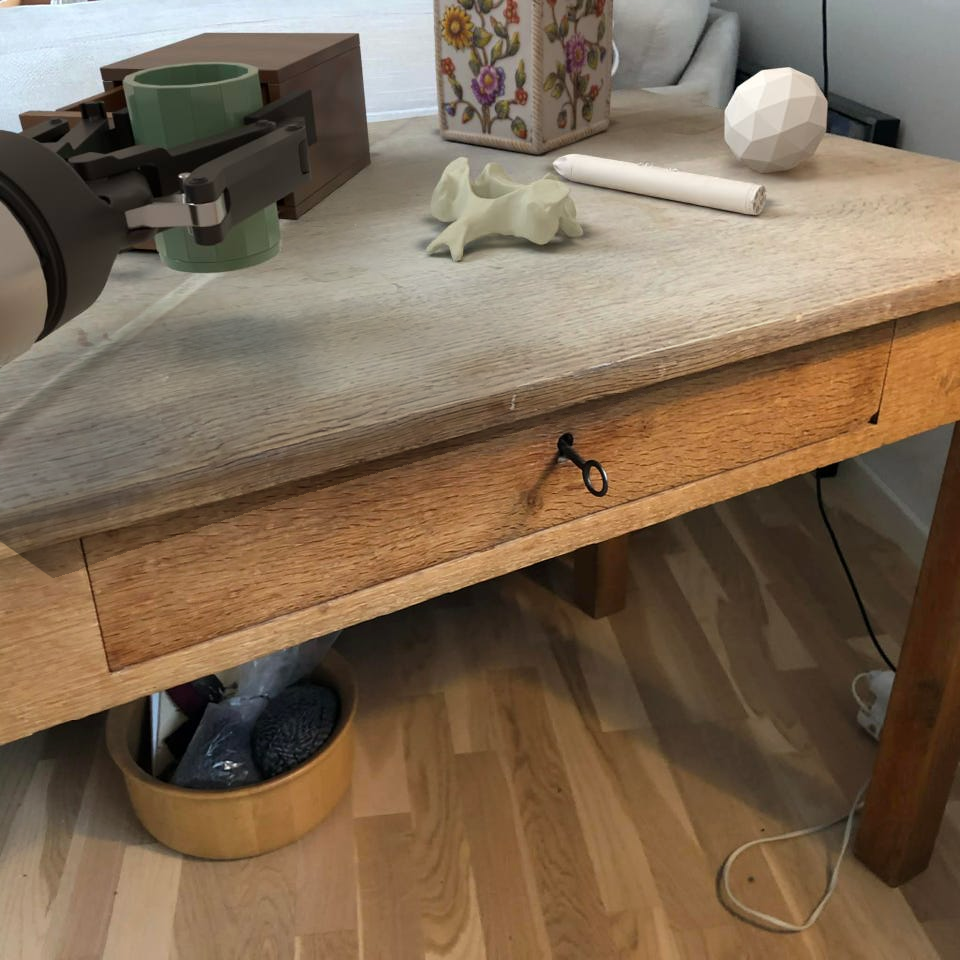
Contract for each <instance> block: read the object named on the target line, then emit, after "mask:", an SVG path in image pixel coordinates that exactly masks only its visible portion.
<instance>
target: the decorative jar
mask: <svg viewBox="0 0 960 960" xmlns="http://www.w3.org/2000/svg"><path fill="white" fill-rule="evenodd" d="M432 2H433V3H432V4H433V7H432V8H433V34H434V36H433V37H434V62H435V81H436V99H437V110H438V113H437V114H438V124H439V125H438V126H439V136H440V138H441V139H442V140H443V139H444V140H448V141H454V142H459V143H466V144H472V145H476V146H477V145H478V146H483V147H489V148H496V149H501V150H507V151H512V152H518V153H524V154H528V155H529V154H530V155H538V156H539V155H542V154H545V153H547V152H549V151H554V150H555V149H558V148H561V147H564V146H566V145H570V144H572V143H575V142H578V141H580V140H582V139H585V138H587V137H590V136H593V135H595V134H599V133H601V132H603V131H605V130H607V129H608V127H609V125H610V117H611V103H612V102H611V98H612V76H613V75H612V74H613V73H612V71H613V70H612V69H613V68H612V67H613V64H612V63H613V62H612V61H613V34H614V33H613V30H614V29H613V28H614V27H613V24H614V21H613V20H614V0H433V1H432Z"/></svg>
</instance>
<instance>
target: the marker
mask: <svg viewBox="0 0 960 960" xmlns="http://www.w3.org/2000/svg"><path fill="white" fill-rule="evenodd" d="M552 166H553V168H554V169H555V171H556V172H557V173H558V174H559V175H560V176H561V177H563V178H565V179H567V180H569V181H572V182H576V183H579V184H585V185H591V186H595V187H596V186H597V187H601V188H608V189H613V190H616V191H617V190H618V191H623V192H629V193H634V194H639V195H644V196H650V197H655V198H659V199H660V198H661V199H666V200H671V201H676V202H682V203H688V204H691V205H697V206H702V207H703V206H704V207H707V208H714V209H719V210H724V211H730V212H734V213H740V214H745V215H751V216H758V215H760V214H761V213H762V211H763V209H764V207H765V205H766V201H767V194H766V193H767V189H766V187H765V186H764V185H761V184H758V183H754V182H753V183H752V182H747V181H741V180H735V179H730V178H729V179H728V178H723V177H717V176H712V175H705V174H698V173H692V172H688V171H682V170H679V168H676V167H674V168H672V166H668V168H666V167H661V166H655V165H654V163H651V164H650V163H648V162H646V163H645V164H644V162H643V161H641V162H639V163H635V162H630V161H622V160H616V159H610V158H605V157H600V156H594V155H593V156H592V155H587V154H580V153H571V154H570V153H569V154H565V155H563V156H560V157H558V158H556V159H555V160H554V161H553V162H552Z"/></svg>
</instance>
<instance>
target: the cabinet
mask: <svg viewBox="0 0 960 960" xmlns="http://www.w3.org/2000/svg"><path fill="white" fill-rule="evenodd" d="M197 62H232V63H244V64H248V65H251V66H255V67H257V68H258V72H259V79H260V83H269V84H268V88H269V96H270V103H272V102H274V101H276V100H278V99H280V98H282V97H284V96H286V95H288V94H290V93H291V92H293V91H295V90H297V89H311V92H312V101H313V110H314V119H315V128H316V136H317V142H316V143H314V144H313V145H311V146H310V147H308V153H309V161H310V170H311V179H312V180H311V181H310V182H309V183H307V184H305V185H304V186H302V187H300V188H298V189H297V190H295V191H293V192H292V193H290V194H288V195H286V196H285V197H283V198H281V199H280V200H278V201H276V202H277V210H278V217H279V219H291V220H293V219H294V220H297V219H299V218H300V217H302V216H303V215H304V214H306V213H307V212H308V211H309V210H311V209H312V208H313V207H315V206H316V205H317V204H318V203H320V202H322V201H323V200H324V199H325V198H326V197H328V196H329V195H330V194H331V193H333V192H334V191H335V190H337V189H338V188H340V187H341V186H342V185H343V184H345V183H346V182H347V181H349V180H350V179H351V178H353V177H354V176H355V175H357V174H358V173H359V172H360V171H361V170H363V169H364V168H366V167H367V166H369V165H370V164H371V161H372V160H371V152H370V151H371V150H370V139H369V130H368V129H369V128H368V118H367V106H366V105H367V104H366V96H365V95H366V94H365V83H364V74H363V61H362V51H361V40H360V33H359V32H202V33H200V34H197V35H193V36H191V37H188V38H186V39H182V40H178V41H176V42H173V43H170V44H167V45H164V46H161V47H157V48H155V49H153V50H152V49H151V50H149V51H146V52H145V51H144V52H143V53H140V54H136V55H133V56H130V57H128V58H127V57H126V58H124V59H122V60H118V61H116V62H112V63H109V64H107V65H103V66H100V67H99V72H100V77H101V80H102V86H103V92H105V91H108V90H111V89H113V88H116V87H119V86H121V85H123V80H124V78H125V77H126V76H127V75H130V74H133V73H135V72H138V71H141V70H145V69H150V68H156V67H161V66H167V65H176V64H185V63H197Z"/></svg>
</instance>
